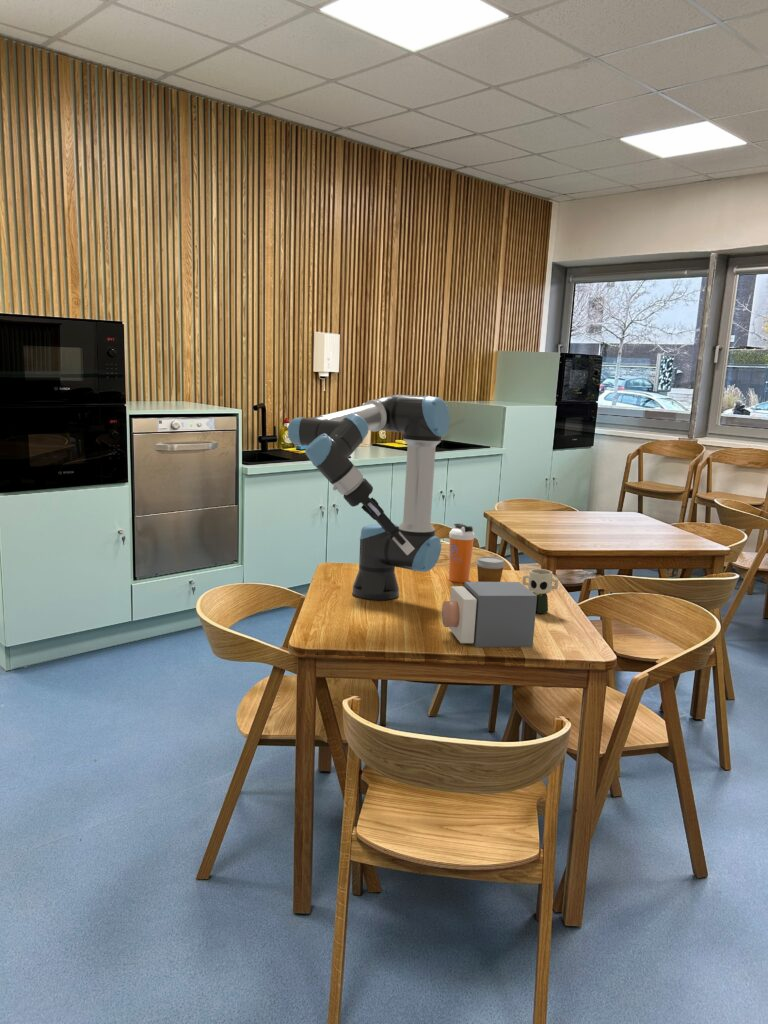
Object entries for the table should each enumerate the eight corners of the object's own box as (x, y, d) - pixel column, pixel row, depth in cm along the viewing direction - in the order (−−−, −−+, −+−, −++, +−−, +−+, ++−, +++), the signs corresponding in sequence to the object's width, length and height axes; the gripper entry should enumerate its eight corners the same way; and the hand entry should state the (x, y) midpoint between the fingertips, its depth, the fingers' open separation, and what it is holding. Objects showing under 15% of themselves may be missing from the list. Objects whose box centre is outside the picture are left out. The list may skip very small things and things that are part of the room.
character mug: (518, 612, 234) (521, 571, 232) (522, 606, 241) (525, 566, 238) (553, 617, 230) (557, 576, 228) (556, 611, 237) (560, 571, 235)
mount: (475, 647, 200) (479, 595, 198) (461, 630, 214) (464, 581, 211) (532, 646, 203) (537, 595, 200) (514, 629, 216) (518, 581, 214)
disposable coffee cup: (501, 591, 257) (504, 557, 255) (503, 599, 248) (505, 563, 246) (473, 589, 258) (476, 555, 256) (474, 597, 248) (476, 561, 246)
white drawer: (449, 643, 199) (452, 599, 197) (438, 627, 212) (440, 586, 210) (525, 642, 203) (529, 599, 201) (509, 627, 215) (512, 586, 213)
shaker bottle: (457, 575, 275) (460, 522, 272) (476, 581, 269) (480, 526, 266) (441, 579, 269) (444, 524, 266) (460, 584, 263) (464, 528, 259)
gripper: (338, 492, 200) (394, 555, 207) (346, 500, 188) (406, 566, 194) (359, 473, 201) (414, 537, 207) (368, 480, 188) (427, 547, 195)
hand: (410, 551), depth 201 cm, fingers closed
